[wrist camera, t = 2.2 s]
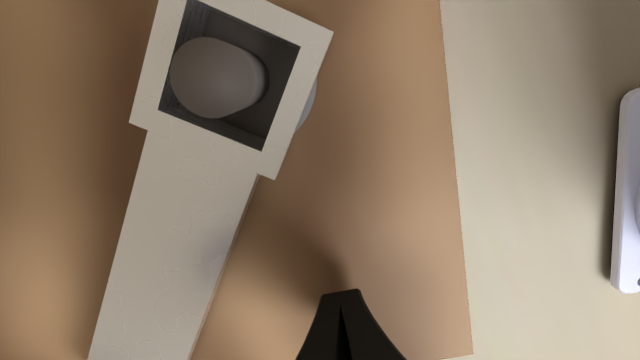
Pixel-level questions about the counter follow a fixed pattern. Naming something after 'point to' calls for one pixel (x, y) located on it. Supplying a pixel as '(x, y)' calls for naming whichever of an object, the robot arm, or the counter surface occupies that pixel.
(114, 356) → the link
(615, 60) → the counter surface
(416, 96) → the board
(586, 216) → the counter surface
